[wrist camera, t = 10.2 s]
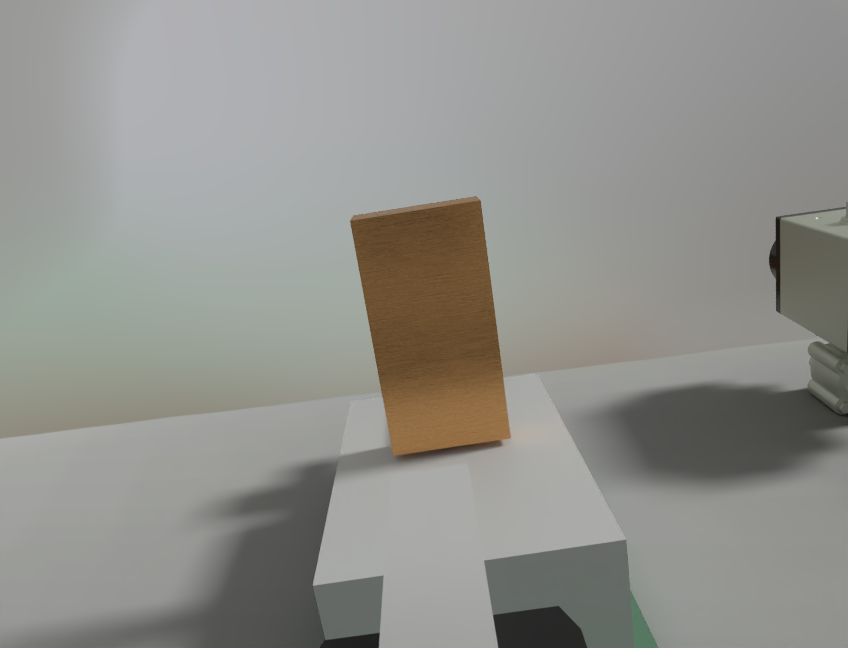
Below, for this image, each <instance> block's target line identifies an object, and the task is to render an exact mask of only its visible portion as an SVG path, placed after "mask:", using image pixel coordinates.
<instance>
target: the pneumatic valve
mask: <svg viewBox="0 0 848 648" xmlns="http://www.w3.org/2000/svg"><path fill="white" fill-rule="evenodd" d="M769 265H770V269H771V272H772V274H773V275H774V277H775V278H776V311H777V312H779V313H780V314H782V315H784V316H785V317H787V318H789V319H791V320H792V321H794V322H796V323H797V324H799V325H801V326H802V327H804V328H806V329H807V330H809V331H811V332H812V333H814V334H815V335H817V336H819V337H821V338H822V339H824V340H826V341H828V342H829V343H828V344H823V343H822V342H818V341H817V342H813V343H811V344H810V345H809V347H808V353H809V355H811V358H810V361H809V364H810V366H811V377H812V380H810V381H809V383H808V391H809V392H810V393H812V394H813V395H814V396H816V397H817V398H818V399H819V400H821V401H822V402H823V403H825V404H826V405H827V406H829V407H830V408H831V409H833V410H834V411H835V412H836V413H838V414H841V415H844V414H847V413H848V202H847V203H846V207H842V208H835V209H828V210H821V211H814V212H806V213H799V214H793V215H785V216H779V217H776V241H775V242H774V244H773V246H772V249H771V251H770V257H769Z"/></svg>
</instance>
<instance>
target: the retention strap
mask: <svg viewBox="0 0 848 648" xmlns="http://www.w3.org/2000/svg"><path fill="white" fill-rule="evenodd" d="M350 222H351V228H352V233H353V238H354V244H355V249H356V255H357V261H358V266H359V271H360V276H361V282H362V287H363V293H364V299H365V304H366V310H367V314H368V320H369V325H370V331H371V337H372V342H373V348H374V353H375V358H376V363H377V368H378V375H379V380H380V386H381V391H382V397H383V402H384V407H385V413H386V418H387V424H388V429H389V435H390V440H391V445H392V451H393V456H396V455H403V454H410V453H416V452H423V451H429V450H436V449H443V448H449V447H456V446H463V445H469V444H476V443H483V442H489V441H496V440H502V439H509V438H511V435H510V427H509V419H508V412H507V404H506V396H505V388H504V380H503V373H502V365H501V358H500V349H499V342H498V334H497V326H496V318H495V310H494V302H493V295H492V287H491V279H490V271H489V263H488V256H487V248H486V240H485V232H484V225H483V217H482V209H481V201H480V200H479V199H478V197H476V196H475V197H468V198H462V199H456V200H450V201H443V202H437V203H430V204H424V205H418V206H411V207H405V208H399V209H392V210H386V211H380V212H373V213H367V214H361V215H354V216H353V217H352V219H351V221H350Z"/></svg>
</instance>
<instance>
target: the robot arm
mask: <svg viewBox="0 0 848 648" xmlns="http://www.w3.org/2000/svg"><path fill="white" fill-rule="evenodd" d="M320 648H587V645H586V642H585V639H584V636H583V633H582V630H581V628H580V627H579V626H578V625H577V624H576V623H575V622H574V621H573V620H572V619H571V618H570V617H569V616H568V615H567V614H566V613H565V612H564V611H563V610H562V609H561V608H560V607H559V606H554V607H546V608H539V609H532V610H524V611H517V612H510V613H502V614H495V615H493V613H492V607H491V601H490V594H489V588H488V582H487V576H486V570H485V564H484V558H483V552H482V546H481V540H480V533H479V527H478V521H477V515H476V509H475V503H474V497H473V491H472V485H471V479H470V472H469V466H468V463H464V464H457V465H450V466H443V467H436V468H429V469H422V470H415V471H408V472H401V473H394V474H390V488H389V503H388V518H387V533H386V548H385V563H384V578H383V593H382V608H381V623H380V633H373V634H366V635H359V636H352V637H344V638H337V639H330V640H325V641H324V642H323V644H322V645H321V647H320Z"/></svg>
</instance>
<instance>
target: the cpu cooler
mask: <svg viewBox="0 0 848 648" xmlns="http://www.w3.org/2000/svg"><path fill="white" fill-rule="evenodd" d="M503 380H504V388H505V396H506V404H507V412H508V419H509V427H510V435H511V438H509V439H502V440H496V441H489V442H483V443H476V444H469V445H463V446H456V447H449V448H443V449H436V450H429V451H423V452H416V453H410V454H403V455H396V456H393V451H392V445H391V440H390V435H389V429H388V424H387V418H386V413H385V407H384V402H383V397H377V398H370V399H363V400H357V401H351V402H350V407H349V412H348V417H347V422H346V427H345V431H344V436H343V441H342V446H341V451H340V456H339V460H338V465H337V470H336V475H335V480H334V485H333V490H332V494H331V499H330V504H329V509H328V514H327V519H326V523H325V528H324V533H323V538H322V543H321V548H320V552H319V557H318V562H317V567H316V572H315V577H314V581H313V590H314V594H315V598H316V602H317V607H318V611H319V615H320V619H321V623H322V628H323V632H324V636H325V640H330V639H337V638H344V637H352V636H359V635H366V634H373V633H380V623H381V608H382V593H383V578H384V563H385V548H386V533H387V518H388V503H389V488H390V474H394V473H401V472H408V471H415V470H422V469H429V468H436V467H443V466H450V465H457V464H464V463H468V466H469V472H470V479H471V485H472V491H473V497H474V503H475V509H476V515H477V521H478V527H479V533H480V540H481V546H482V552H483V558H484V564H485V570H486V576H487V582H488V588H489V594H490V601H491V607H492V613H493V615H495V614H502V613H510V612H517V611H524V610H532V609H539V608H546V607H554V606H559V607H560V608H561V609H562V610H563V611H564V612H565V613H566V614H567V615H568V616H569V617H570V618H571V619H572V620H573V621H574V622H575V623H576V624H577V625H578V626H579V627H580V628H581V630H582V633H583V636H584V639H585V642H586V645H587V648H658V646H657V644H656V642H655V640H654V638H653V636H652V634H651V632H650V630H649V628H648V626H647V623H646V621H645V619H644V617H643V615H642V613H641V611H640V609H639V607H638V605H637V603H636V601H635V599H634V597H633V595H632V593H631V591H630V582H629V569H628V556H627V544H626V538H625V536H624V535H623V533H622V531H621V529H620V527H619V525H618V523H617V522H616V520H615V518H614V516H613V514H612V512H611V510H610V508H609V507H608V505H607V503H606V501H605V499H604V497H603V495H602V494H601V492H600V490H599V488H598V486H597V484H596V482H595V480H594V479H593V477H592V475H591V473H590V471H589V469H588V467H587V466H586V464H585V462H584V460H583V458H582V456H581V454H580V452H579V451H578V449H577V447H576V445H575V443H574V441H573V439H572V438H571V436H570V434H569V432H568V430H567V428H566V426H565V424H564V423H563V421H562V419H561V417H560V415H559V413H558V411H557V409H556V408H555V406H554V404H553V402H552V400H551V398H550V396H549V395H548V393H547V391H546V389H545V387H544V385H543V383H542V381H541V380H540V378H539V376H538V374H537V373H534V374H527V375H521V376H514V377H508V378H503Z"/></svg>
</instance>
